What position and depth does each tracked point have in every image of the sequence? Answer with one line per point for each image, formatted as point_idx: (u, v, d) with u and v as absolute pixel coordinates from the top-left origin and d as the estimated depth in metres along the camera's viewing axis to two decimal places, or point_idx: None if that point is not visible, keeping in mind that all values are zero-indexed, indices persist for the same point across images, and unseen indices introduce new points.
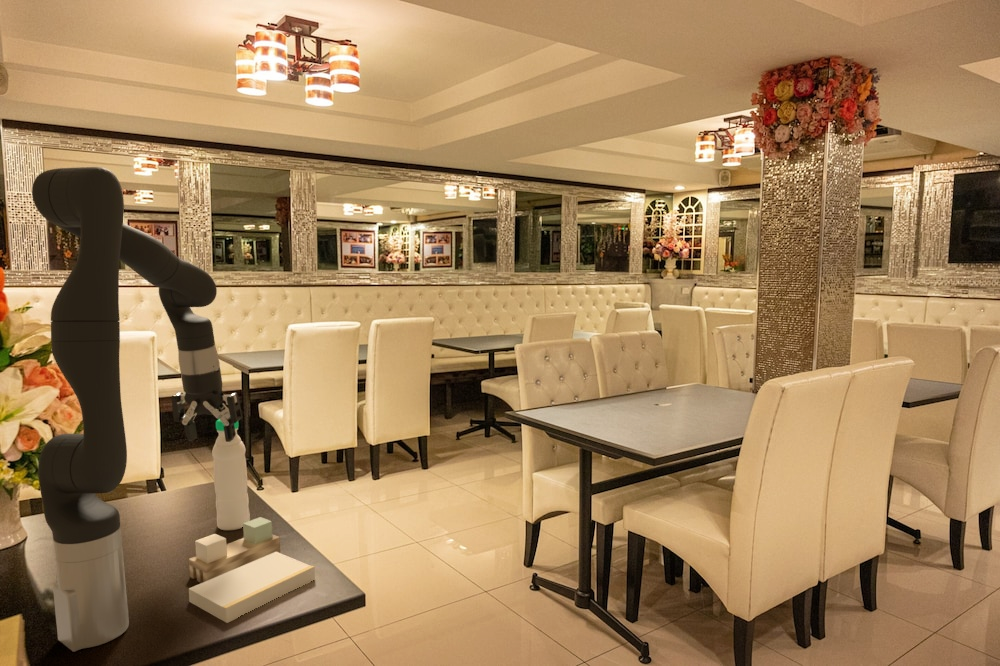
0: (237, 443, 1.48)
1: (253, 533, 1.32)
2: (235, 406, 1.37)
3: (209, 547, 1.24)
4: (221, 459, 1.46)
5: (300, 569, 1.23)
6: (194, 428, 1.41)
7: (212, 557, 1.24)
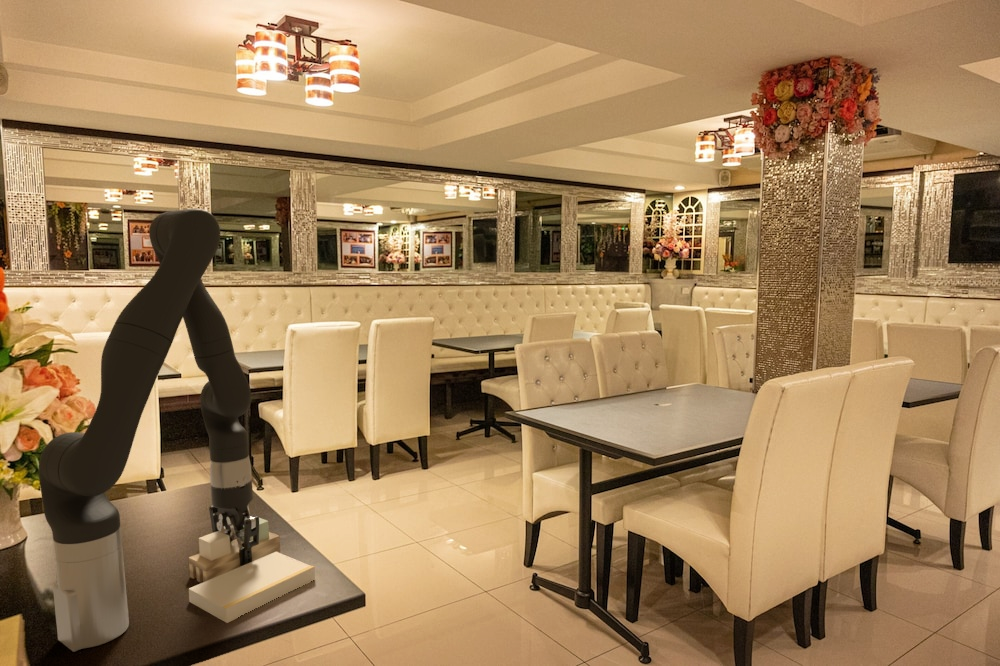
0: None
1: None
2: (250, 532, 1.26)
3: (212, 544, 1.25)
4: None
5: (300, 569, 1.23)
6: None
7: (215, 554, 1.25)
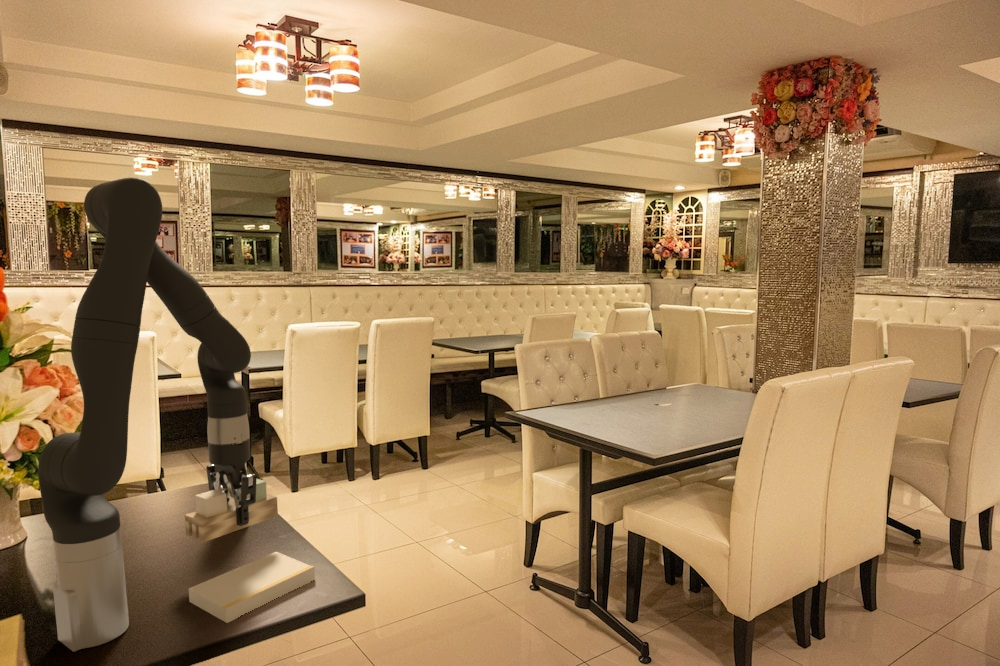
0: None
1: None
2: (247, 489, 1.25)
3: (209, 501, 1.23)
4: None
5: (300, 569, 1.23)
6: None
7: (211, 511, 1.24)
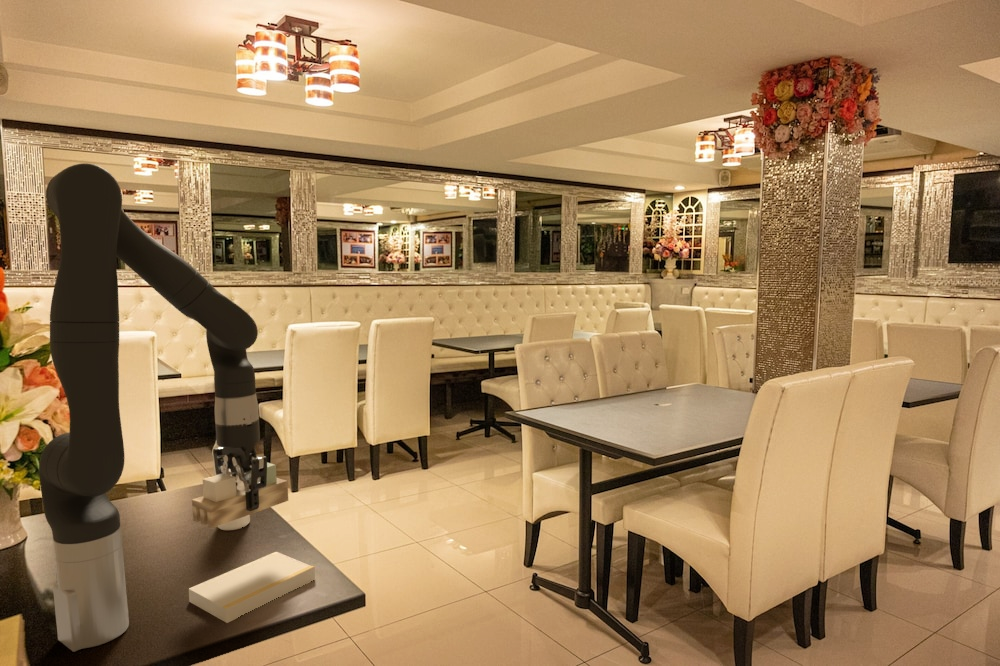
0: None
1: None
2: (258, 472, 1.18)
3: (218, 484, 1.17)
4: None
5: (300, 569, 1.23)
6: None
7: (220, 495, 1.18)
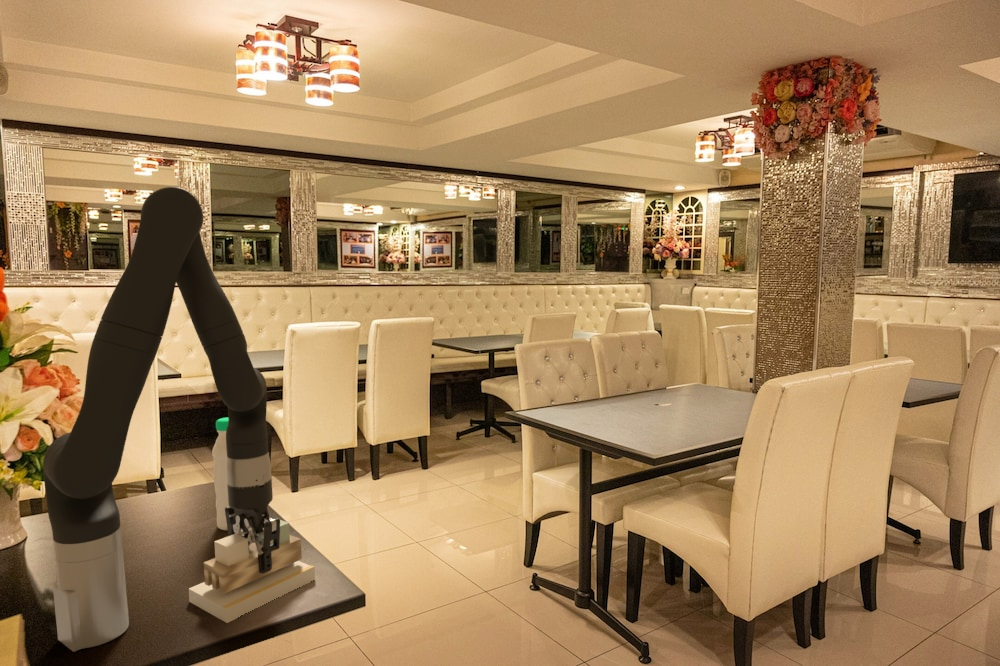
0: None
1: None
2: (271, 535, 1.15)
3: (230, 548, 1.14)
4: (221, 459, 1.46)
5: (300, 569, 1.23)
6: None
7: (232, 559, 1.15)
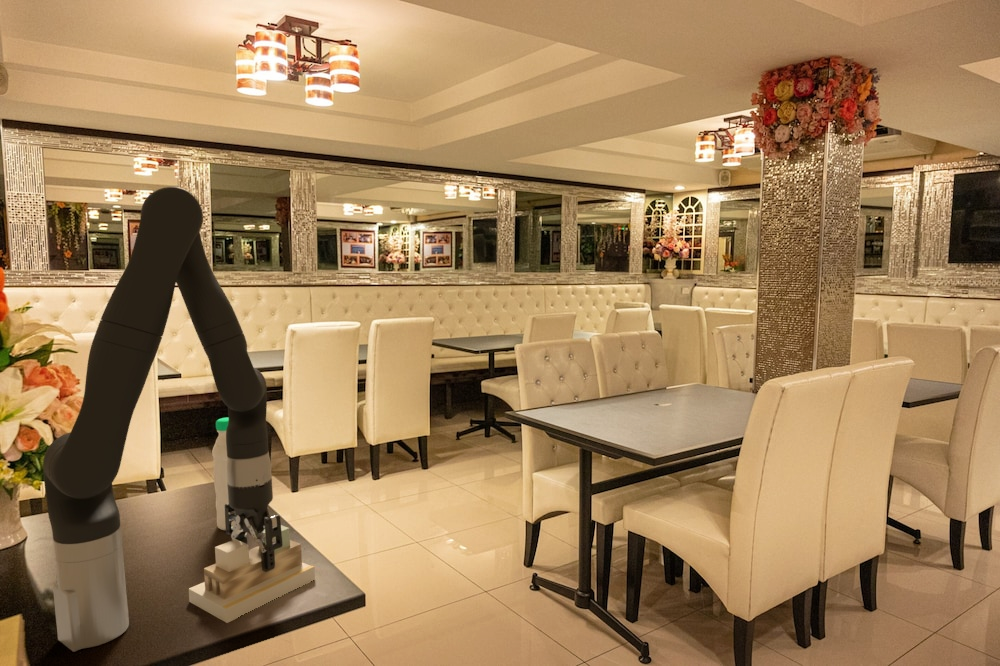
0: None
1: None
2: (272, 532, 1.15)
3: (230, 554, 1.14)
4: (221, 459, 1.46)
5: (300, 569, 1.23)
6: None
7: (233, 565, 1.15)
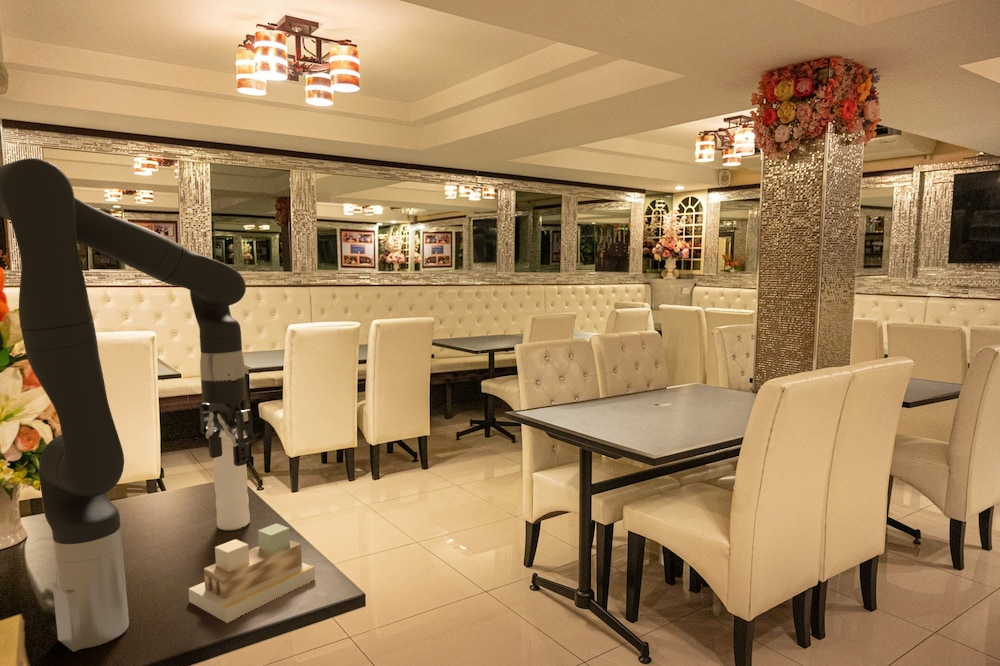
0: None
1: (269, 541, 1.21)
2: (243, 425, 1.17)
3: (230, 554, 1.14)
4: (221, 459, 1.46)
5: (300, 569, 1.23)
6: (219, 444, 1.26)
7: (233, 565, 1.15)
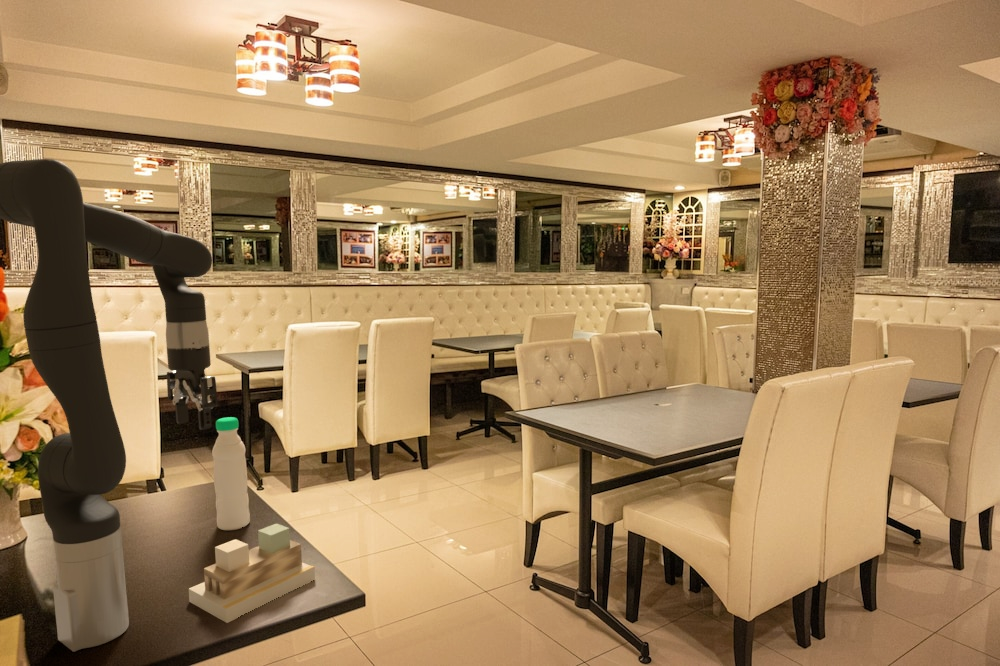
0: (237, 443, 1.48)
1: (269, 541, 1.21)
2: (207, 390, 1.24)
3: (230, 554, 1.14)
4: (221, 459, 1.46)
5: (300, 569, 1.23)
6: (185, 411, 1.32)
7: (233, 565, 1.15)
